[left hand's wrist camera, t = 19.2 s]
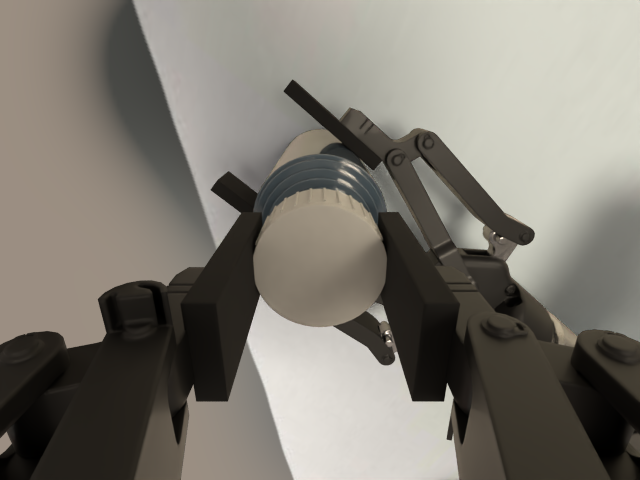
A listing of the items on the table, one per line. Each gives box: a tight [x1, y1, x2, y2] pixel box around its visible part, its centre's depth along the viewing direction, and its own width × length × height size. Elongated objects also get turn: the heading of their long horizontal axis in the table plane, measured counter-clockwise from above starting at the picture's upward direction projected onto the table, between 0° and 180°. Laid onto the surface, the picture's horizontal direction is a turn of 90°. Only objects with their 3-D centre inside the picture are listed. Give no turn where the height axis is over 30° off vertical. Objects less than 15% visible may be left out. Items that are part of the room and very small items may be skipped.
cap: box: [253, 188, 387, 327], centre depth 13 cm, size 5×5×2 cm
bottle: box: [253, 129, 387, 226], centre depth 21 cm, size 6×6×17 cm
